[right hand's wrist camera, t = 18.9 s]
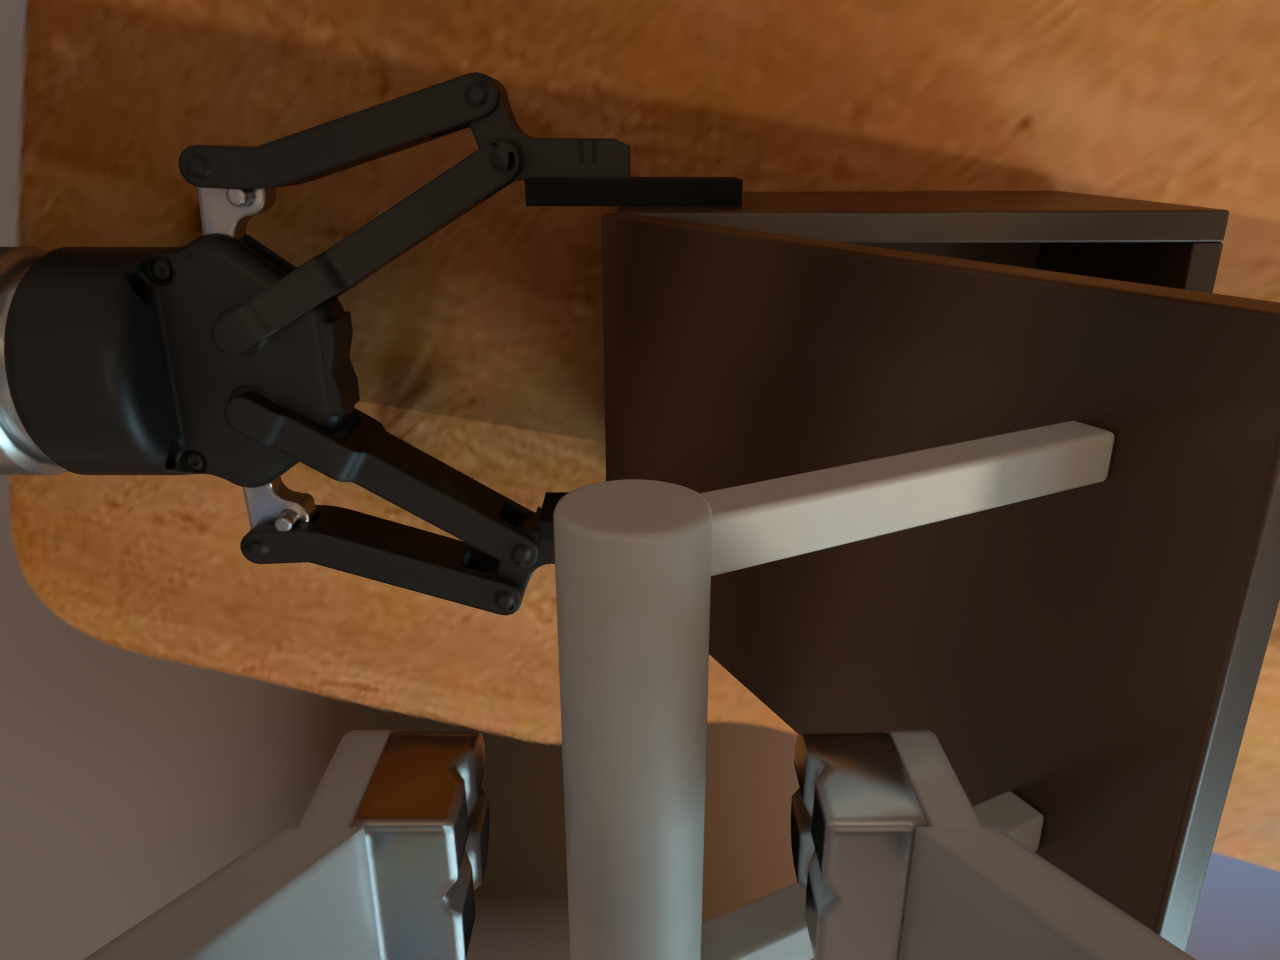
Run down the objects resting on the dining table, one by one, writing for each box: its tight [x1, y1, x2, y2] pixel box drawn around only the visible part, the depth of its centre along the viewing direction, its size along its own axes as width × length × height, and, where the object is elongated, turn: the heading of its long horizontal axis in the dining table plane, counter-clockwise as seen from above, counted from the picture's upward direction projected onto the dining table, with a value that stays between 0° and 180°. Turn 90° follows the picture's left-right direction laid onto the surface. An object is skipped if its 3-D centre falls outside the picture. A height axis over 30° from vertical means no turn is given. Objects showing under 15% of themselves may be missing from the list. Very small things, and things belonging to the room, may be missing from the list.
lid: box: [553, 213, 1280, 960], centre depth 17 cm, size 18×10×8 cm
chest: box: [617, 191, 1229, 293], centre depth 32 cm, size 17×10×11 cm, turn 90°
